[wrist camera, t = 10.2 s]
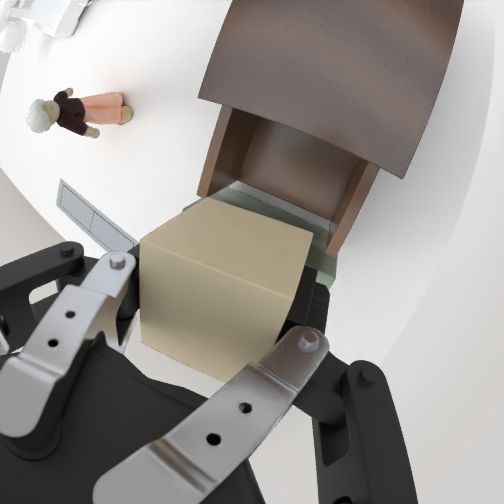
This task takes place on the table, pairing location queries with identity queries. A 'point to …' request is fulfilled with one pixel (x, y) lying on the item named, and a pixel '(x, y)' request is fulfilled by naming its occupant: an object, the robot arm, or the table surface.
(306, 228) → the drawer
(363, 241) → the table surface
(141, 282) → the block
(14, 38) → the telephone
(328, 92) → the cabinet
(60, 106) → the grandmother figurine
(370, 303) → the table surface
